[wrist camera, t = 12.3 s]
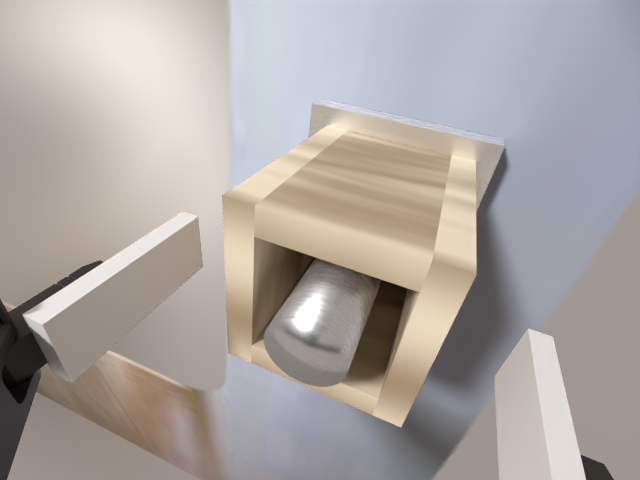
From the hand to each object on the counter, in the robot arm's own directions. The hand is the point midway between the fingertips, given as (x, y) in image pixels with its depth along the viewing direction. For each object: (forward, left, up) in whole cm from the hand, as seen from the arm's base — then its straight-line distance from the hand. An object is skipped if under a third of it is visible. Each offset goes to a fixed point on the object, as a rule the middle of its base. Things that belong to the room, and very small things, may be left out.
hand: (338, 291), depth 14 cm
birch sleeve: (0, 0, -8) cm, 8 cm away
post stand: (0, 0, -10) cm, 10 cm away
